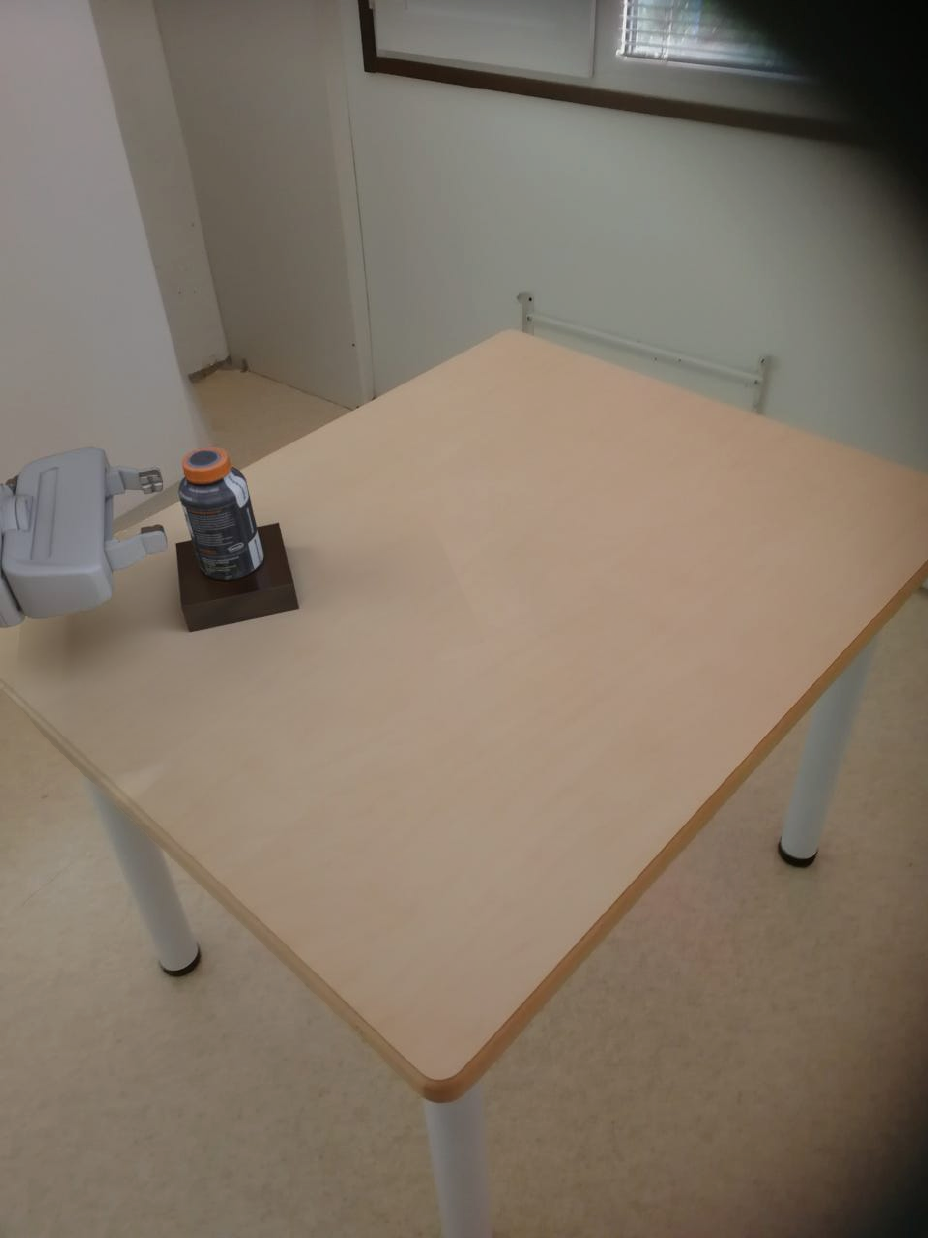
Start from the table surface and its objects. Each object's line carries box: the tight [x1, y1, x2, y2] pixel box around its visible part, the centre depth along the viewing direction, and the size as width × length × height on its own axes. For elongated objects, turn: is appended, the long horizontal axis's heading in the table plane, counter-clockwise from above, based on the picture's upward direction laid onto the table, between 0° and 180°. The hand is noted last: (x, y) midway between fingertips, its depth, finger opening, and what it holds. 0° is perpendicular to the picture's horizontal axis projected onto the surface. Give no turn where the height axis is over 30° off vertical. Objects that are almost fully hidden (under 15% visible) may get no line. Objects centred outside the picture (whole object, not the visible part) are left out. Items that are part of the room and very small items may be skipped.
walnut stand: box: [174, 522, 300, 633], centre depth 90 cm, size 10×10×3 cm
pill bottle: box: [177, 446, 264, 580], centre depth 85 cm, size 6×6×11 cm
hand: (163, 506), depth 83 cm, fingers open, 8 cm apart
